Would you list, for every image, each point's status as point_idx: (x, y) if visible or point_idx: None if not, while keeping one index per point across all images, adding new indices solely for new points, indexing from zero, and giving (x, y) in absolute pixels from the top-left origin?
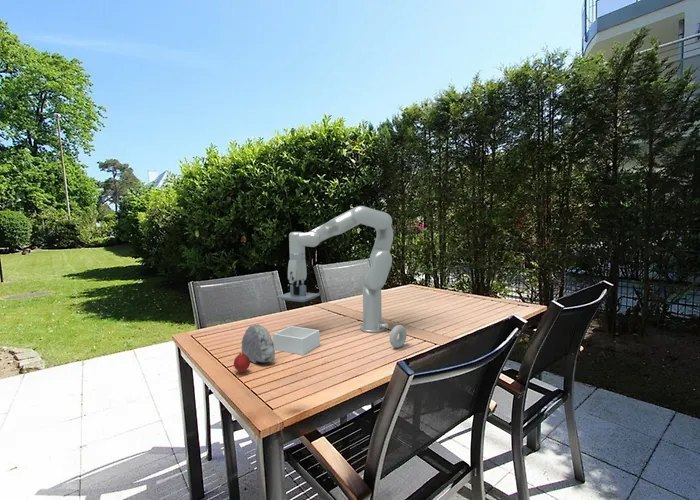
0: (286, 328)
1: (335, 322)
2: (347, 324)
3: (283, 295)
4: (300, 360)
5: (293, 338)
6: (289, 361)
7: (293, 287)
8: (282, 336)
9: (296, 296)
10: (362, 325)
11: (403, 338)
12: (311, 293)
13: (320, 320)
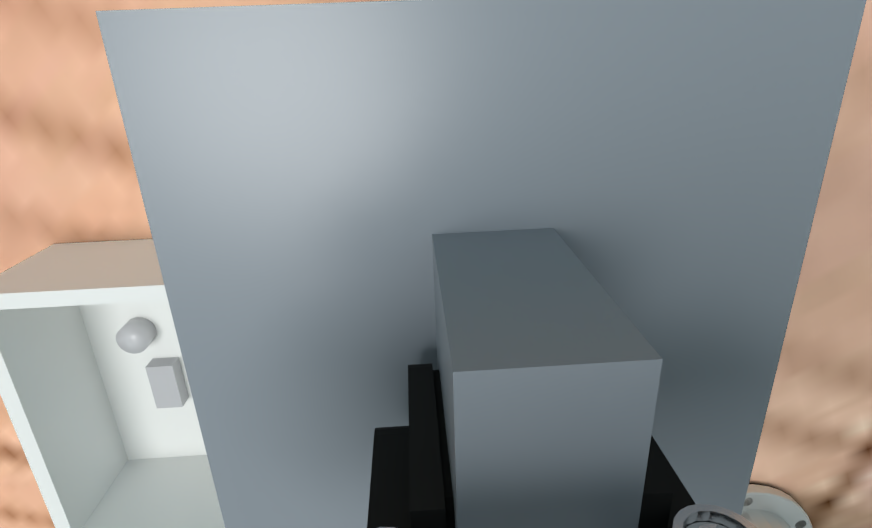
0: (160, 297)
1: (825, 269)
2: (790, 374)
3: (302, 114)
4: None
5: (42, 481)
6: (7, 453)
7: (410, 485)
8: (5, 390)
9: (371, 436)
10: (750, 496)
11: None
12: (715, 498)
13: (864, 111)
